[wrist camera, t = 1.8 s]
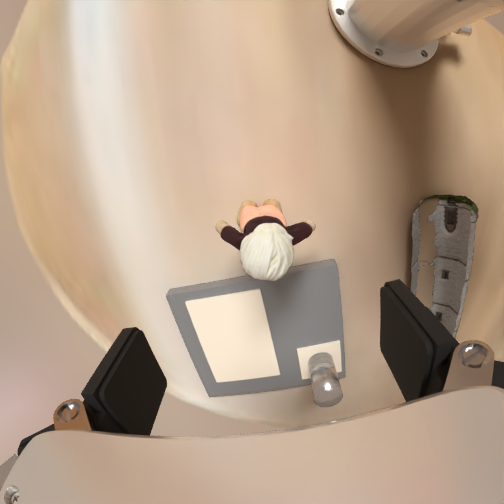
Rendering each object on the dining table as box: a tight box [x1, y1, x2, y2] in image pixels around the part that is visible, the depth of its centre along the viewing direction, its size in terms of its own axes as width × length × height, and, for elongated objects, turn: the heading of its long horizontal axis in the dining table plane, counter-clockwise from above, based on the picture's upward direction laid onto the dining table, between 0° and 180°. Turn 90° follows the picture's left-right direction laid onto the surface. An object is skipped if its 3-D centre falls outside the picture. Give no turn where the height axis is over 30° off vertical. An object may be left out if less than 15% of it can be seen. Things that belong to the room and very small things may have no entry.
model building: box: [411, 195, 478, 338], centre depth 29 cm, size 7×7×25 cm
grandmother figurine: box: [216, 199, 316, 281], centre depth 22 cm, size 8×4×13 cm, turn 104°
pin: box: [308, 352, 343, 407], centre depth 30 cm, size 3×3×6 cm
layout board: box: [166, 259, 345, 397], centre depth 33 cm, size 18×16×2 cm
